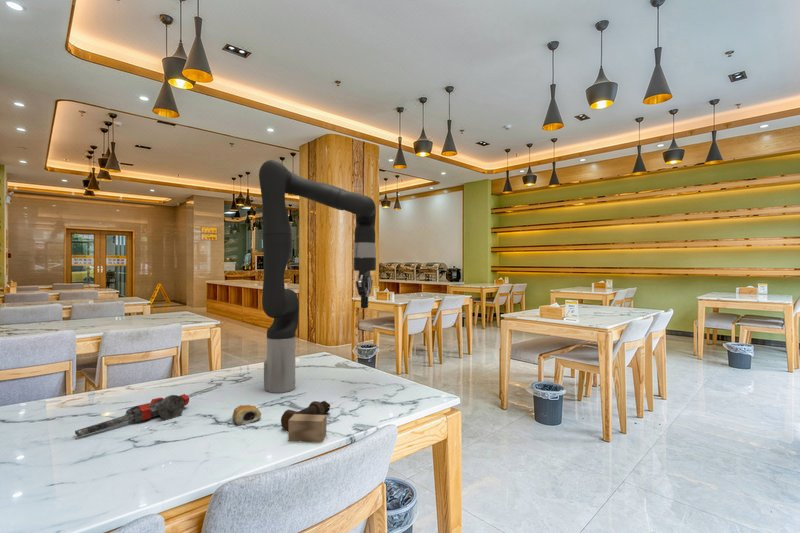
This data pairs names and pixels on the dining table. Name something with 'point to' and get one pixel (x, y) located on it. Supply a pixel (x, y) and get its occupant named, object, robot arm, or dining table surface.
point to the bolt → (305, 412)
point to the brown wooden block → (307, 428)
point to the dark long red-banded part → (145, 412)
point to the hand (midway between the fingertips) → (364, 308)
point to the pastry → (246, 414)
